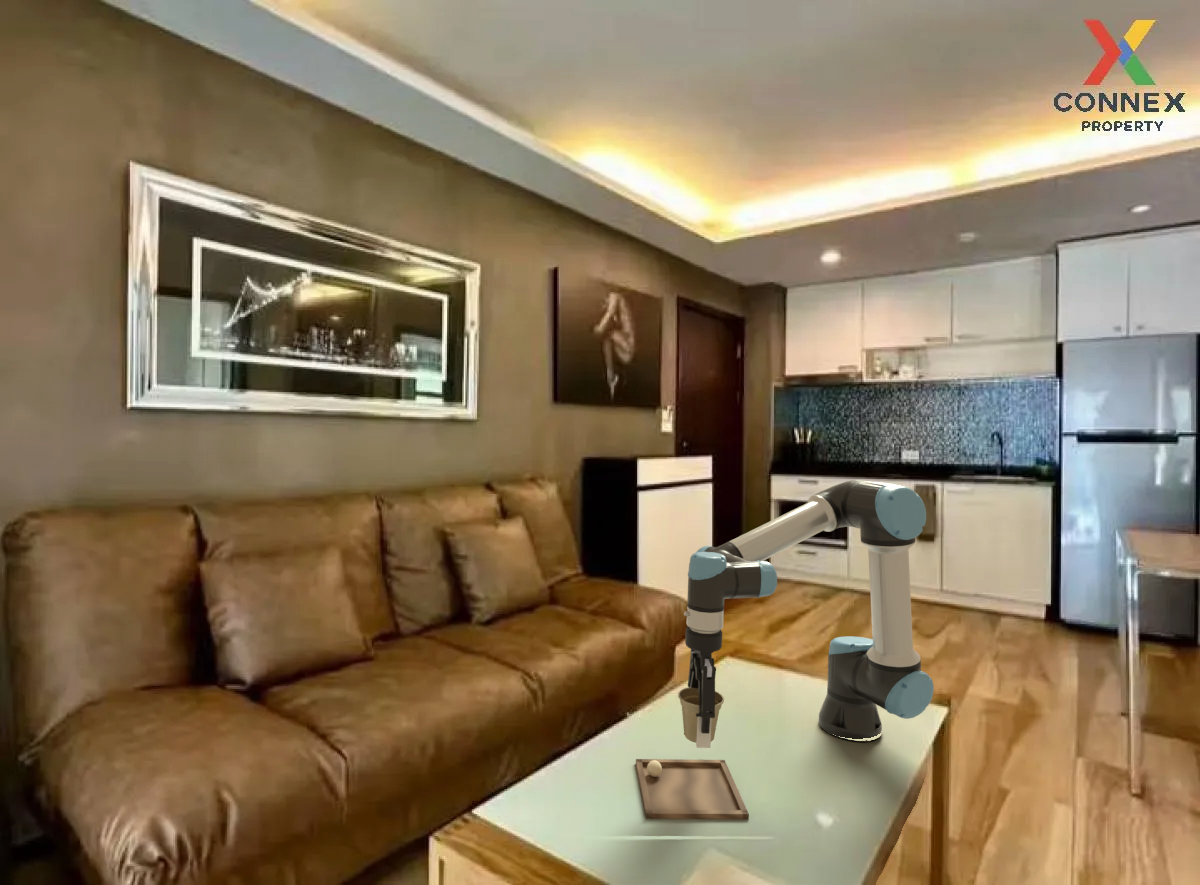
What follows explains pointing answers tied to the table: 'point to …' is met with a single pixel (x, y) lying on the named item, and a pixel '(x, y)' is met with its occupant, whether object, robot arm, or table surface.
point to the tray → (690, 790)
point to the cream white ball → (654, 768)
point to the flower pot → (691, 707)
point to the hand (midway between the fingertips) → (698, 735)
